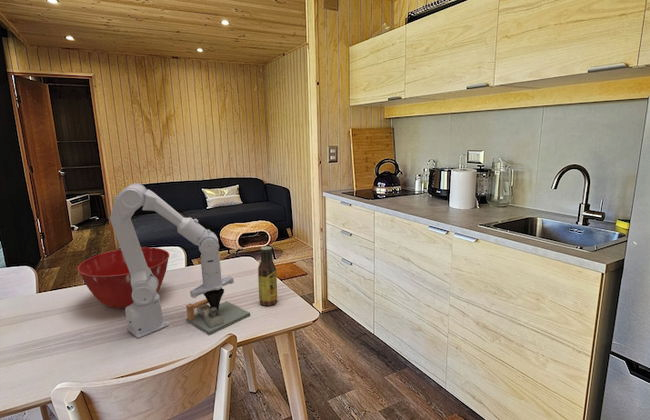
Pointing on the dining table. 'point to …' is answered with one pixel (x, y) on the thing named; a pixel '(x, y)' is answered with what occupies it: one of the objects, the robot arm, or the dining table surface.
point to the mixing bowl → (119, 275)
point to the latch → (206, 314)
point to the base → (230, 317)
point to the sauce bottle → (267, 278)
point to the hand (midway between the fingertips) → (214, 310)
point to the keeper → (191, 308)
